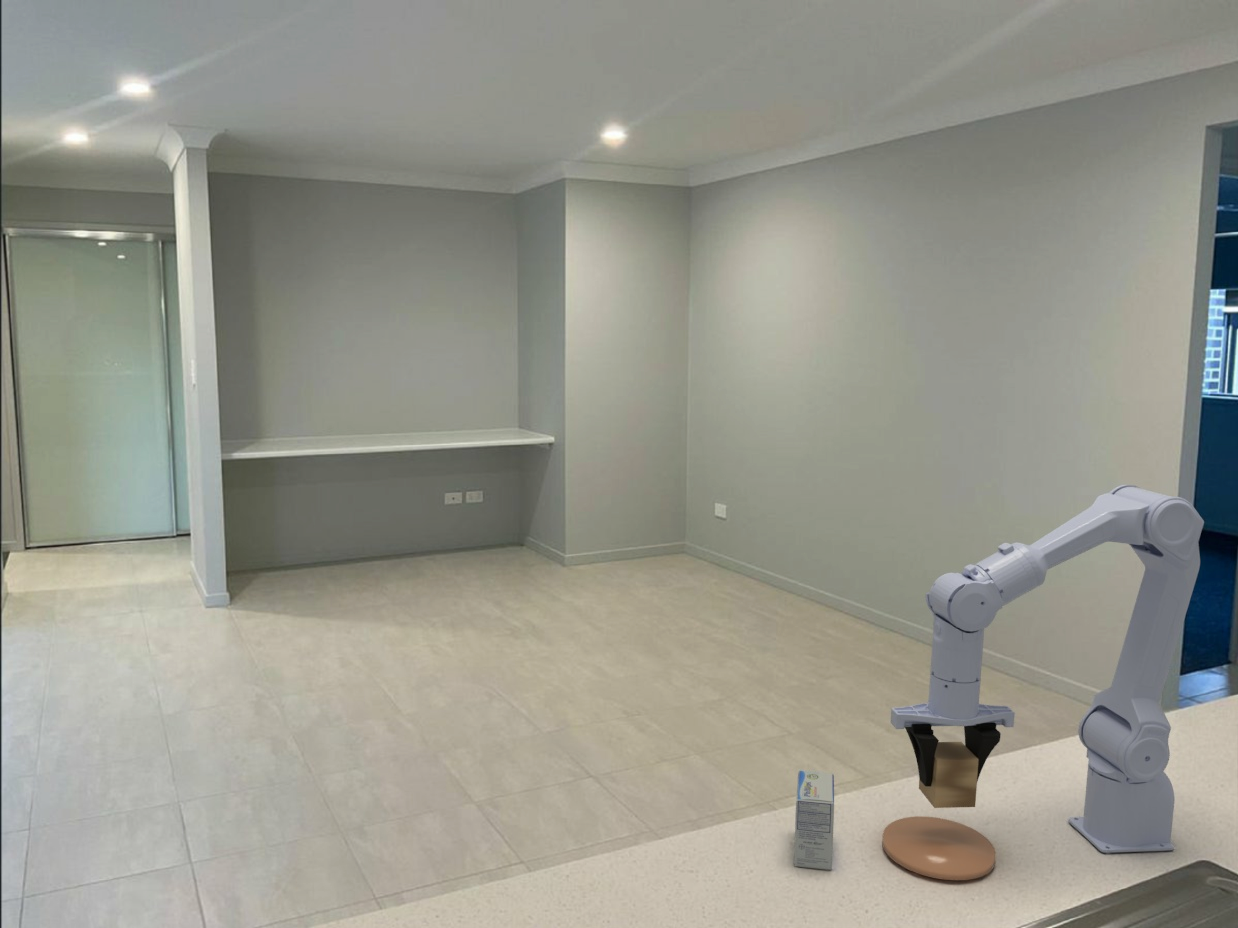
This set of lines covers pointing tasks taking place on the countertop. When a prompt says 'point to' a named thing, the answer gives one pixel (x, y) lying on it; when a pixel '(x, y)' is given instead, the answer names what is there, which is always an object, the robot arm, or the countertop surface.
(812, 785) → the medicine box
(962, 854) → the peach round disc
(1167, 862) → the countertop surface
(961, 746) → the oak block
